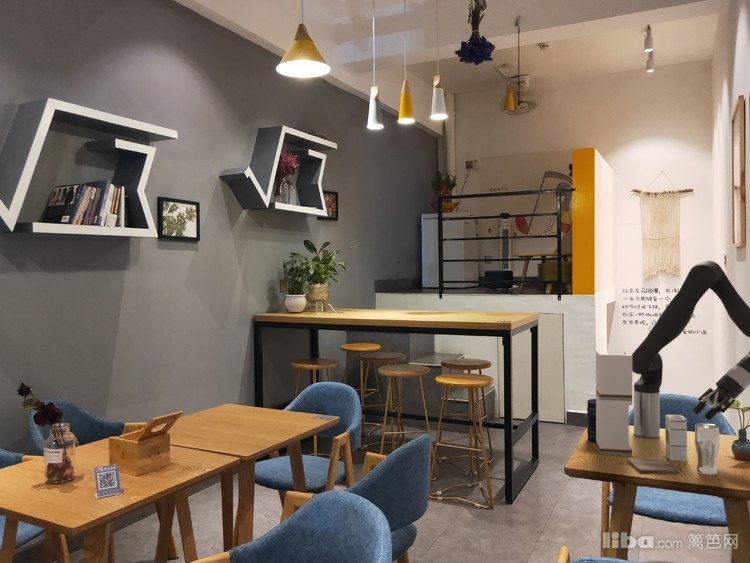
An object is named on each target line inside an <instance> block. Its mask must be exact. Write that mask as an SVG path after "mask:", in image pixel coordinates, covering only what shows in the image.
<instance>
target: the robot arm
mask: <svg viewBox="0 0 750 563" xmlns="http://www.w3.org/2000/svg"><path fill="white" fill-rule="evenodd" d="M709 290H711V291H712V292H713V293H714V294H715V295H716V296H717V297H718V299H719V300H720V302H721V303H722V306H723V307H724V309H725V311H726V313H727V315H728V316H729V318H730V319H731V321H732V323H733V324H734V325H735V326H736V327H737V329H738V330H739V331H741V333H742V334H743V335H744V336H745V337H747V338H750V306H749V305H748V304H747V303H746V301H745V300H744V299H743V298H742V296H741V295H740V294H739V293H738V290H736V288H735V287H734V285H733V283H731V281H730V280H729V278H728V276H727V275H726V273H725V271H724V270H723V268H722V267H721V265H720V264H719V263H717V262H715V261H713V260H704V261H702V262H699V263H696V264H695V265H694V266H692V267H691V268H690V269H689V272H688V273H687V275H686V278H685V279H684V281H683V283H682V285H681V287H680V289H679V290H678V292H677V293H676V294H675V295H674V297H673V298H672V299H671V301H670V302H669V304H668V305H667V306H666V307H665V309H664V310H663V312H662V313H661V314H660V316H659V318H658V319H657V321H656V323H655V324H654V326H652V328H651V330H650V331H649V333H648V334H647V335H646V337H645V338H644V340H643V341H642V342H641V343H640V344H639V346H638V347H637V348H636V349H635V350H634V351H633V352H632V354H631V355H632V373H634V374H636V375H640V376H639V379H638V380H637V381H635V382H634V384H633V434H634V435H635V436H637V437H640V438H648V439H649V438H651V439H652V438H653V439H654V438H659V437H660V431H661V430H660V425H661V424H660V420H661V419H660V418H661V417H660V416H661V415H660V413H661V412H660V409H661V407H660V405H661V404H660V401H661V397H660V394H661V393H660V391H661V390H660V389H661V386H662V382H663V368H664V365H663V364H664V363H663V359H662V356H661V354H660V352H661V350H662V349H663V348H665V347H666V346H668V345H669V344H670V343H672V342H673V341H674V340H675V339H677V338H678V337H679V336H680V335H681V334H682V333H683V331H684V330H685V328H686V327H687V326H688V324H689V322H690V321H691V319H692V317H693V315H694V312H695V309H696V306H697V304H698V302H699V301H700V300H701V298H702V297H703V296H704V295H705V294H706V293H707V291H709ZM715 385H716V386H715V387H716V388H715V389H713V388H711V387H710V388H708V389H707V390H706V391H705V392H703V394H702V395H700V396H699V397H698V398H697V400H698V403H697V404H696V405H695V406H694V407H693V408H692V412H693V413H694V414H695V415H699V414H700V413H701V412H702V411H703V410H704V409H705V408H706V407H708V406H712V407H711V408H709V410H707V412H705V414H704V418H705V419H706V420H708V421H710V420H712V419H713V418H714V417H715V416H716V415H717V414H720V413H721V414H724V413H725V412H726V411H727V410H728V409H729V408H730V407H731V406H732V405H733V404H734V403H735V402H736V399H737V398H738V397H739V396H740V395H741V394H742V393H743V392H744V391H745V390H746V389H747V388H749V386H750V350H749V351H748V352H747V354H746V355H745V356H743V357H742V358H741V359H740V360H739V361H738V362H737V363H736V364H735V365H734V366H732V367H731V368H730V369H728V370H727V371H726V373H724V375H723V376H721V377H720V379H719V380H717V382H715Z"/></svg>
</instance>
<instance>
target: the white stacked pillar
mask: <svg viewBox="0 0 750 563" xmlns="http://www.w3.org/2000/svg"><path fill="white" fill-rule="evenodd" d="M595 359H596V360H595V399H596V443H595V446H596V448H597V450H598V453H599V455H604V456H605V455H606V456H607V455H608V456H623V457H633V449H632V448H631V446H630V435H629V434H630V418H629V417H630V406H633V371H632V354H631V353H630V352H628V351H623V354H606V353H602V352H601V351H600V350H596V351H595Z"/></svg>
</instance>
